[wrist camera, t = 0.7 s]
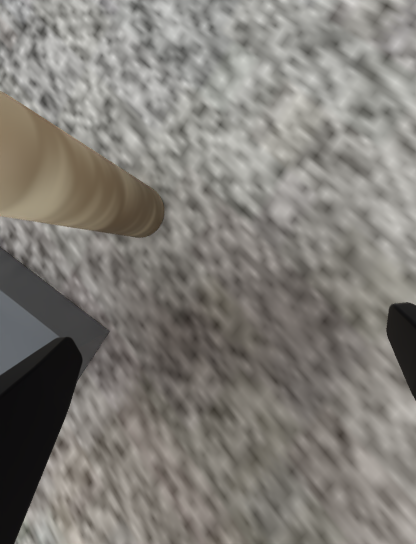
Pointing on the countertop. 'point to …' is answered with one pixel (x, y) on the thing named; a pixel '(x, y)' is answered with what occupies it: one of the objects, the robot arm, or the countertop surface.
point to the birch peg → (67, 180)
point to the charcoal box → (39, 317)
